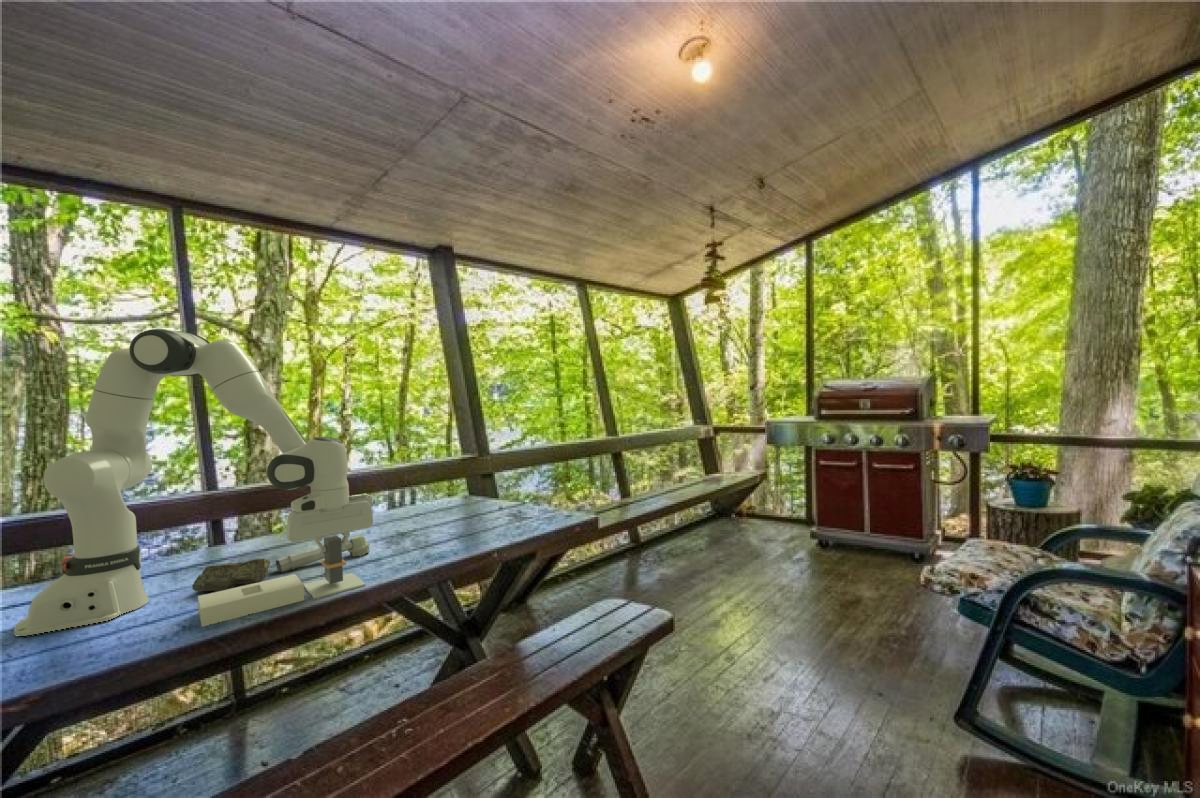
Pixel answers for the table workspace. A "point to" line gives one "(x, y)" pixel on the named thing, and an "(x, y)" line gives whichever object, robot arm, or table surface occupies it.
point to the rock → (231, 575)
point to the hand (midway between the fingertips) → (332, 551)
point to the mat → (333, 586)
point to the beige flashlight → (354, 546)
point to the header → (249, 599)
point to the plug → (333, 559)
